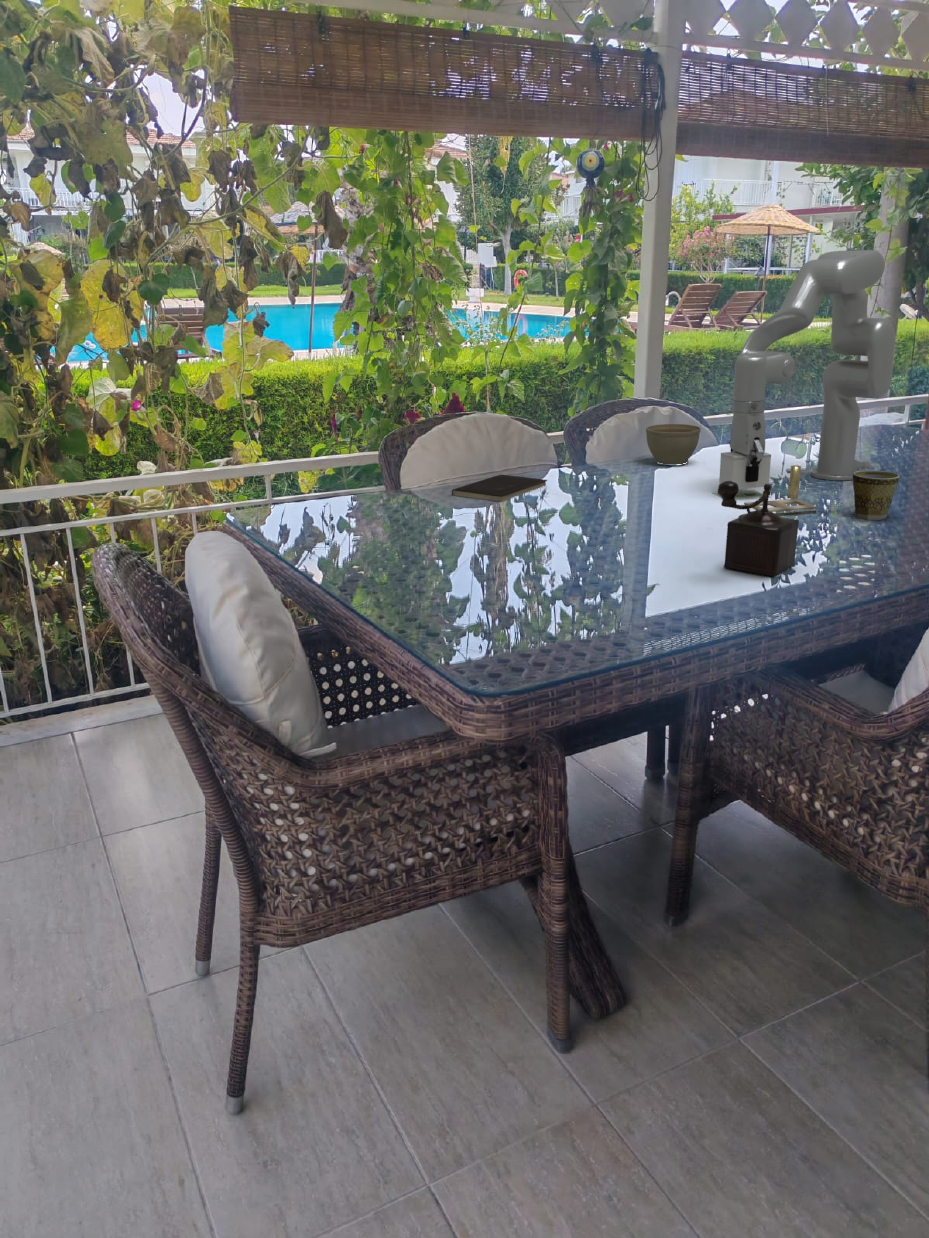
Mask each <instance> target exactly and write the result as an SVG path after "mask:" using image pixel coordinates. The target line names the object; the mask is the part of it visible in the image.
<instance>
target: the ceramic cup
mask: <svg viewBox="0 0 929 1238" xmlns="http://www.w3.org/2000/svg"><path fill="white" fill-rule="evenodd" d="M899 482H900V474H898V473H895V472H892V471H886V470H874V469H873V470H871V469H870V470H869V469H868V470H866V469H863V470H857V471H856V472H854V473H853V479H852V488H853V495H854V496H853V497H854V513H855V515H856V517H857V518H858V519H862V520H869V521H880V520H885V519H886V518H887V517H888V514H889V512H890V507H891V506H892V502H893V498H894V495H895V493H896V490H897V487H898V485H899Z"/></svg>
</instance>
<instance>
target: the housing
mask: <svg viewBox="0 0 929 1238" xmlns="http://www.w3.org/2000/svg"><path fill="white" fill-rule="evenodd" d="M750 453H755V452H750ZM753 457H755V456H751V460H752V459H753ZM719 460H720V463H719V464H720V466H719V479H718V480H719V484H721V483H723V482H725V481H732V482H735V483H737V484H738V486H739V490H744V489H752V488H753V489H754V488H764V485H765V484H770V477H771V476H770V474H771V461H772V454H770V453H768V452H766V451H765V452H764V455H763V457H762V460H761V462H760V466H759V475H758V481H756V482H746V481H745V477H746V466H748V463H747V456H746V455H744V454H741V453H739V452H731V451H727V452H720V459H719ZM719 484H718V485H719Z"/></svg>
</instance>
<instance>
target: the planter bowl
mask: <svg viewBox="0 0 929 1238" xmlns="http://www.w3.org/2000/svg"><path fill="white" fill-rule="evenodd" d="M701 429H702V428H701V427H700V426H698V425H693V424H686V423H685V424H684V423H663V424H661V423H659V424H653V425H648V426H646V427H645V432H646V442H647V446H648V449H649V452H650V453H651V455H652V456H653V458H654V460H655V463H656V462H659V463H663V464H683V463H686V462H689V459H690V458H691V457H692V455H693V454H694V452H695V451H696V449H697V446H698V443H699V440H700V433H701Z"/></svg>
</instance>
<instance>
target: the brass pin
mask: <svg viewBox="0 0 929 1238" xmlns="http://www.w3.org/2000/svg"><path fill="white" fill-rule="evenodd" d="M801 471H802V466H801V465H793V464H792V465H790V473H789V481H788V482H789V483H788V494H787V499H788V498H789V499H798V498H799V494H800V493H799V492H800V481H801V473H802V472H801Z"/></svg>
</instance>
